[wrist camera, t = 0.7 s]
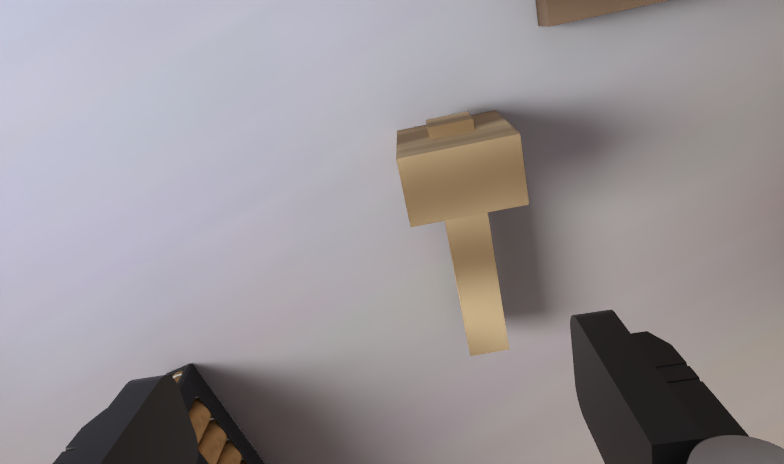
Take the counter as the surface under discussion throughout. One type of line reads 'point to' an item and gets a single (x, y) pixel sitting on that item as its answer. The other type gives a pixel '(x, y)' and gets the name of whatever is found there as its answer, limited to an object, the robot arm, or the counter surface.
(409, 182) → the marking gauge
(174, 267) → the counter surface
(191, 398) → the ammunition clip
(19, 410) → the counter surface
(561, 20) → the walnut board
